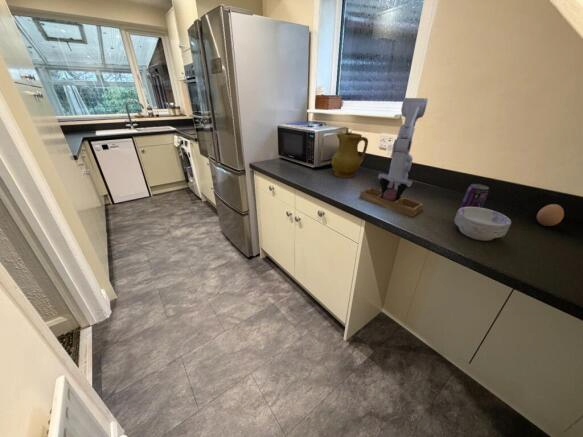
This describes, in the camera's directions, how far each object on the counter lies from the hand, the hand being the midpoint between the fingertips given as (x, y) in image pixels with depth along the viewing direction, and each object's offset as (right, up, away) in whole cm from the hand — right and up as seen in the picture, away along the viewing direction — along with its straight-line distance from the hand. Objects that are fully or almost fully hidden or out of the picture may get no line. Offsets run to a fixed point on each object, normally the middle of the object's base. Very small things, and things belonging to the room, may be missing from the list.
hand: (390, 197), depth 106 cm
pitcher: (-11, +17, +40) cm, 45 cm away
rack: (0, -3, +2) cm, 4 cm away
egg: (+55, -13, -14) cm, 58 cm away
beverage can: (+32, -7, -5) cm, 33 cm away
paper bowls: (+22, -16, -21) cm, 34 cm away
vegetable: (0, -3, +1) cm, 3 cm away
